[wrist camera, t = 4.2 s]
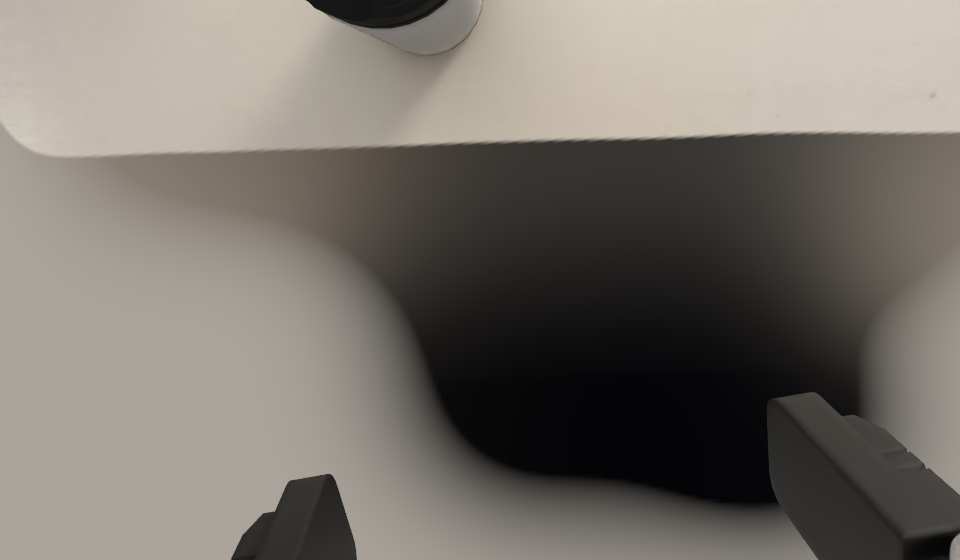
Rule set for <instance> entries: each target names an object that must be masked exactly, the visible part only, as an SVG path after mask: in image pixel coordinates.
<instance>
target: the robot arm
mask: <svg viewBox="0 0 960 560" xmlns="http://www.w3.org/2000/svg"><path fill="white" fill-rule="evenodd" d="M767 425H768V447H769V469H770V477H771V482H772V486H773V489H774V492H775V495H776V497H777V500H778V502H779V504H780V506H781V507H782V509H783V510H784V512H785V513H786V514H787V516H788V517H789V519H790V520H791V521H792V523H793V524H794V526H795V527H796V529H797V530H798V531H799V533H800V534H801V536H802V537H803V539H804V540H805V541H806V543H807V544H808V545H809V547H810V548H811V550H812V551H813V552H814V554H815V555H816V557H817V558H818V560H960V495H959V494H958V493H957V492H956V491H954V490H953V489H952V488H951V487H950V486H949V485H948V484H946V483H945V482H944V481H943V480H942V479H941V478H940V477H938V476H937V475H936V474H935V473H934V472H933V471H932V470H931V469H926V468H925V465H924V463H923V462H921V461H920V460H919V459H918V458H917V457H916V456H915V455H913V454H912V453H911V452H907V450H906V448H905V447H904V446H903V445H902V444H901V443H900V442H899V441H897V440H896V439H895V438H894V437H893V436H892V435H890V434H889V433H888V432H887V431H886V430H885V429H883V428H881V427H879V426H876V425H875V424H872V423H870V422H868V421H866V420H864V419H862V418H860V417H857V416H855V415H849V416H843V417H842V416H841V415H839V414H838V413H837V412H836V411H835V410H834V409H833V408H832V407H831V406H830V405H829V404H828V403H827V402H826V401H825V400H824V399H823V398H822V397H820V396H819V395H818V394H816V393H814V392H810V393H805V394H799V395H793V396H787V397H781V398H776V399H771V400H770V401H769V402H768V405H767ZM231 560H357V556H356V548H355V542H354V539H353V535H352V532H351V529H350V526H349V522H348V519H347V516H346V513H345V509H344V506H343V503H342V500H341V497H340V493H339V490H338V487H337V484H336V481H335V479H334V477H333V476H332V475H331V474H326V475H320V476H314V477H309V478H303V479H297V480H291V481H289V482H288V484H287V485H286V488H285V490H284V492H283V494H282V497H281V499H280V501H279V504H278V506H277V508H276V511H275V512H269V513H264V514H262V515H261V516H260V517H259V518H258V520H257V521H256V522H255V523H254V524H253V525H252V526H251V527H250V528H249V529H248V530H247V531H246V533H244V534H243V535H242V538H241V540H240V542H239V544H238V546H237V548H236V550H235V552H234V554H233V556H232V558H231Z"/></svg>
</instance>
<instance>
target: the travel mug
mask: <svg viewBox="0 0 960 560" xmlns="http://www.w3.org/2000/svg"><path fill="white" fill-rule="evenodd" d="M306 1H308V2H309V3H310V4H311V5H312V6H313V7H314V8H316V9H318V10H320V11H322V12H324V13H325V14H327V15H328V16H329V17H331V18H333V19H335V20H337V21H339V22H342V23H344V24H346V25H348V26H351V27H353V28H355V29H358V30H360V31H362V32H364V33H367V34H369V35H371V36H373V37H376V38H378V39H380V40H382V41H385V42H387V43H389V44H391V45H394V46H396V47H398V48H400V49H403V50H405V51H407V52H410V53H414V54H419V55H435V54H439V53H443V52H446V51H448V50H450V49H453V48H454V47H456V46H457V45H458V44H460V43H461V42H462V41H463V40H464V39H465V38H466V37H467V36H468V35H469V34H470V33H471V31H472V29H473V28H474V26H475V25H476V23H477V20H478V18H479V15H480V12H481V8H482V2H483V0H306Z"/></svg>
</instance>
